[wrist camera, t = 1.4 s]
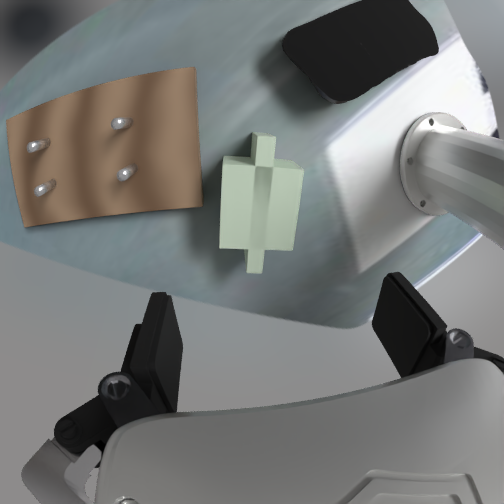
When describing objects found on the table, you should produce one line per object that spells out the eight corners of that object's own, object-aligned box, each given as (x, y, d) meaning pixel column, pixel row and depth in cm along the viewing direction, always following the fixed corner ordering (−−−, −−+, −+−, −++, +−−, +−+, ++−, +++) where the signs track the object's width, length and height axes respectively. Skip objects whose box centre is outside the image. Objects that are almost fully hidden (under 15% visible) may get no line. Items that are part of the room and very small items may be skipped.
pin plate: (196, 69, 21) (189, 60, 17) (203, 201, 27) (199, 217, 23) (13, 118, 20) (-11, 123, 16) (31, 222, 26) (10, 238, 22)
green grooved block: (225, 130, 24) (224, 133, 20) (293, 135, 25) (307, 140, 20) (219, 247, 30) (218, 272, 25) (279, 249, 30) (288, 273, 26)
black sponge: (321, 112, 24) (335, 112, 21) (270, 43, 20) (277, 33, 17) (426, 53, 20) (446, 51, 17) (387, -7, 17) (403, -16, 14)
